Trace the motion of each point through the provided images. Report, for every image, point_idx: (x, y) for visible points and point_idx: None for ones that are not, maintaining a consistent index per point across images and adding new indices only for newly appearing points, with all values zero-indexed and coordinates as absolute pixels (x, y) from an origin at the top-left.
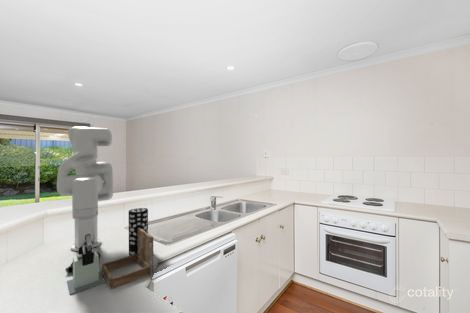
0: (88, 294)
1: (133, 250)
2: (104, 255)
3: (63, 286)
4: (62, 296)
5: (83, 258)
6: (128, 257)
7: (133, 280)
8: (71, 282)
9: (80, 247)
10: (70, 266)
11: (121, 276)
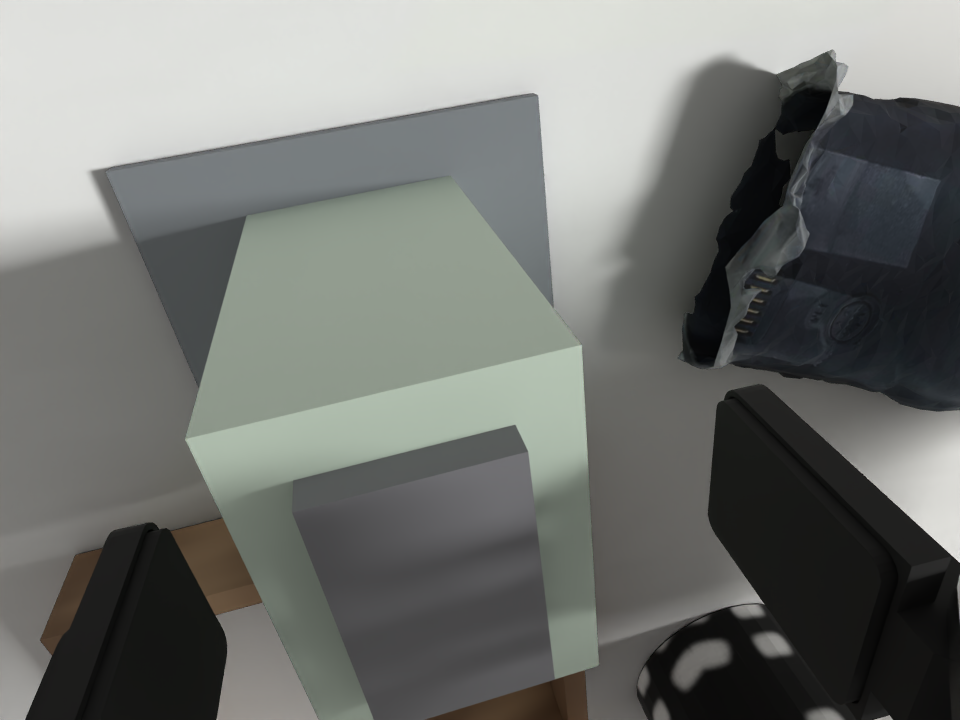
0: (41, 372)
1: (698, 698)
2: (917, 419)
3: (427, 56)
4: (119, 73)
5: (58, 691)
6: (563, 688)
7: None
8: (450, 157)
9: (826, 532)
10: (861, 119)
11: None
